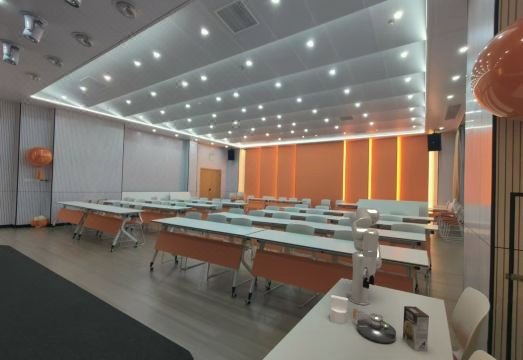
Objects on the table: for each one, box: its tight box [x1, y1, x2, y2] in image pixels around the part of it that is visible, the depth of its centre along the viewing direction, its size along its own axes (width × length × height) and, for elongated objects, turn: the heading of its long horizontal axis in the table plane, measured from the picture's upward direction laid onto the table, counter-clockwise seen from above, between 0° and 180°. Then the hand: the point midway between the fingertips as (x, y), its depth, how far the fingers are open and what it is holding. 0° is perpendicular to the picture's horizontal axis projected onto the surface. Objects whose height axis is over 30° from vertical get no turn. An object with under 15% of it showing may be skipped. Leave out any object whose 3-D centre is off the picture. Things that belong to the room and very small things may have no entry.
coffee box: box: [402, 305, 430, 352], centre depth 120 cm, size 9×6×16 cm
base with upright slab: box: [329, 294, 349, 325], centre depth 140 cm, size 9×9×12 cm
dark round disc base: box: [356, 319, 397, 344], centre depth 128 cm, size 18×18×4 cm
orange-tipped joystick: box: [352, 308, 384, 330], centre depth 131 cm, size 15×6×5 cm, turn 48°
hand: (368, 285), depth 139 cm, fingers open, 7 cm apart
